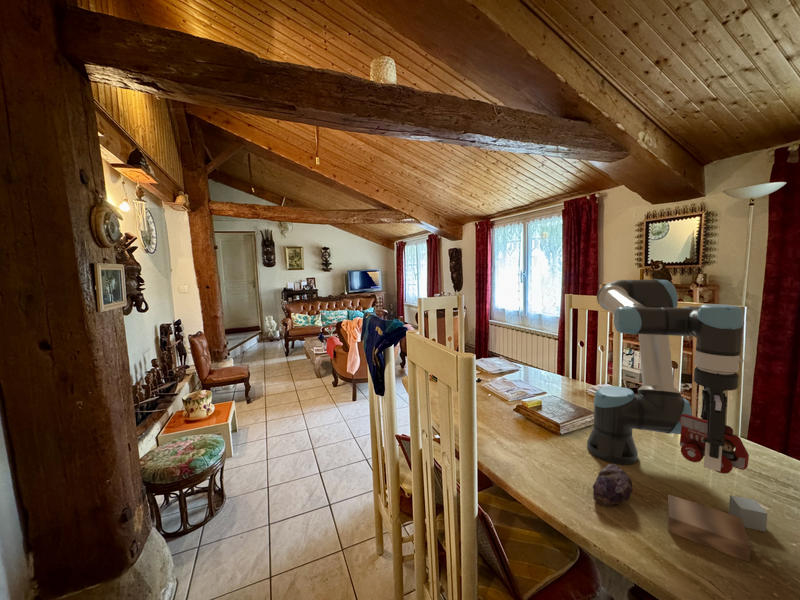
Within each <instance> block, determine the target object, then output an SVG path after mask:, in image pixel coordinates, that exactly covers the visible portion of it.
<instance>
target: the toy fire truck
mask: <svg viewBox="0 0 800 600" xmlns="http://www.w3.org/2000/svg"><path fill="white" fill-rule="evenodd" d="M679 423H680V425H681V434H680V438H679V445H680V447H681V448H680V453H681V455H682V457H683V458H684V459H686V460H687V461H689V462H691V463H700V462H701V461H702V460H703V459H704V458H705V444H706V442H703V439H707V420H704V419H702V418H701V417H697V416H694V415H692V416H691V415H687V414H682V415H681V416H680V420H679ZM724 443H725V445H724V447H723V446H722V457H721V470H720V471H716V470H714V472H717V473H719V474H724V475H725V474H730V472H732V470H733V469H734V468H735V469H739V470H742V471H744V470H747V468H748V466H749V460H750V459H749V458H750V454H749V453H748V451H747V449H746V447H745V444H744V443H743V442H742V440H741V438H740V436H738V435H737V434H735V433H734V429H733V428H732V427H731V426H730V425H728V424H727V425H726V424H725V438H724Z"/></svg>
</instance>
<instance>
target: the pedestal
mask: <svg viewBox="0 0 800 600" xmlns="http://www.w3.org/2000/svg"><path fill="white" fill-rule="evenodd" d="M666 506H667V507H666V512H667V514H666V515H667V529H668V530H667V532H668V533H671V534H673V535H676V536H680V537H682V538H684V539H687V540H690V541H692V542H695V543H698V544H701V545H703V546H705V547H707V548H711V549H714V550H717V551H718V552H722V553H724V554H727V555H728V556H729V555H730V556H732V557H734V558H737V559H740V560H742V561H744V562H748V563H750V557H751V555H750V554H751V544H750V543H751V542H750V540H749V537H748V535H747V531H746V527H744V525H743V521H742V518H740V517H737V516H734V515H731V514H730V513H728V512H723V511H721V510H718V509H715V508H712V507H708V506H705V505H703V504H702V505H701V504H699V503H697V502H693V501H690V500H687V499H684V498H680V497H677V496H674V495H672V494H667V504H666Z"/></svg>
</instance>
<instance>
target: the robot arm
mask: <svg viewBox="0 0 800 600" xmlns="http://www.w3.org/2000/svg"><path fill="white" fill-rule="evenodd" d="M596 300H597V303H598V305H599V306H600V308H602V309H603V310H604V311H607V312H610V313H611V314H613V324H614V325H613V326H614V329H615V331H616V332H617V333H619V334H627V335H628V334H629V335H638V343H639V345H638V346H639V354H640V356H639V357H640V367H641V379H642V381H641V382H642V385H641V386H640V387H639V388H638V389H637V393H634V390H632V389H631V388H629V387H622V386H618V385H617V386H616V385H611V386H603V387H600V388H598V389H597V390H595V393H594V398H593V427H592V429H591V432H590V434H589V436H588V439H587V441H586V443H587V444H586V448H587V450H588V451H589V452H590V453H591V454H592V455H593V456H595V457H596V458H598V459H600V460H603V461H605V462H607V463H610V464H616V465H627V466H628V465H632V464H635V463H637V461H638V449H637V447H636V443H635V440H634V438H633V430H642V431H650V432H657V433H663V434H667V435H670V434H671V435H672V434H673V435H681V425H680V423H679V420H680V416H681V415H682V414H687V415H691V416H693V412H692V406H691V403H690V402H689V400H687V399H686V398H684V397H683V398H682V392H681V391H679V389H677V388H676V387H675V381H674V373H673V372H674V371H673V370H674V369H673V363H672V361H673V360H672V354H671V343H670V336H675V337H676V336H679V337H694V338H696V345H695V350H694V351H695V353H694V366H696V367H695V368H694V370H693V371H694V372H693V381H694V383H695V384H697V385H698V386H701V387H703V389H702V390H701V395H702V406H701V413H700V418H701V419H704V420H707V439H703V442H706V444H705V456H704V457H703V459H704V460H703V461H704V462H703V467H704V468H706V469H709V470H713V471H715V470H716V471H715V472H717V471H720V470H721V457H722V446H723V447H724V445H725V443H724V438H725V425H726V412H727V411H726V410H727V407H728V404H727V403H728V396H726V393H725V391H736V390H737V389H738V387H739V378H740V374H739V373H738V372H739V371H740V364H739V363H744V358H742V357H741V349H742V342H743V341H742V340H743V333H744V332H743V331H744V325H745V321H744V309H743V308H742V307H740V306H739V305H735V304H734V305H731V304H720V303H718V304H717V303H706V304H705V303H704V304H702V305H700V306H692V305H691V306H683V307H678V305H679V303H678V301H679V297H678V293H677V289H676V287H675V286H674V284H673V283H672V282H670V280H667V279H656V278H652V279H617V280H614V281H610V282H608V283H606V284H605V285H603V286H602V287H601V288H600V289H598V292H597V294H596ZM740 357H741V358H740Z"/></svg>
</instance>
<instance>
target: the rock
mask: <svg viewBox="0 0 800 600" xmlns="http://www.w3.org/2000/svg"><path fill="white" fill-rule="evenodd" d="M592 488H593V490H592V493H593V500H594V501H595V502H596V503H598V504H599V505H601V506H602V507H603V506H604V507H611V506H613V505H622V504H623V503H624V502H625V501H628V500H629V499H630V497H631V496H632V495H631V494H632V493H633V492H634V491H633V483H632V480H631V479H630V477H629V476H628V473H627V472H625V470H624V469H622V468H621V467H620V466H619V465H617V464H615V463H609V464H608V465H606V467H603V468H601V470H600V471H599V472H598V474H597V477H596V478H595V481H594V483H593V485H592Z"/></svg>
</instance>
